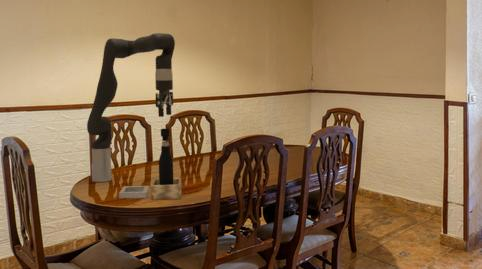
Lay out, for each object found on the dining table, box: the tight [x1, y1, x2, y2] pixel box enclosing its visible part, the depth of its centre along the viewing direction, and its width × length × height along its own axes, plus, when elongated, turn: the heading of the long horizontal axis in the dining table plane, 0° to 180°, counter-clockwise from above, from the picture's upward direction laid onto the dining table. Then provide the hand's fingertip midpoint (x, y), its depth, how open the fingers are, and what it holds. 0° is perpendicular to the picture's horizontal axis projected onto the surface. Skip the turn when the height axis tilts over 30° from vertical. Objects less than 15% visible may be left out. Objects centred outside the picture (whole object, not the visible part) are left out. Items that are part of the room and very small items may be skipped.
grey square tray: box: [118, 185, 150, 200], centre depth 218 cm, size 12×12×2 cm
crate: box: [150, 177, 182, 201], centre depth 216 cm, size 13×13×6 cm
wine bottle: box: [158, 128, 174, 185], centre depth 215 cm, size 6×6×30 cm
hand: (165, 115), depth 212 cm, fingers open, 8 cm apart
